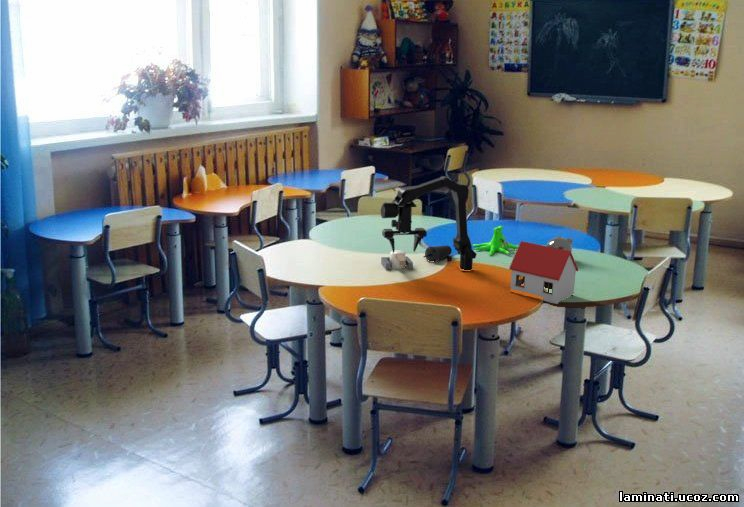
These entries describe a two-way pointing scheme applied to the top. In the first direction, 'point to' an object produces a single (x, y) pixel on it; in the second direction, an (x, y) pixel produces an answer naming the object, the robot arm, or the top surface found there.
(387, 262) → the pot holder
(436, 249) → the drinking cup
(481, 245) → the toy octopus
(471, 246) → the robot arm
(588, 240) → the top surface
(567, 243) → the piggy bank
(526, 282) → the house model
